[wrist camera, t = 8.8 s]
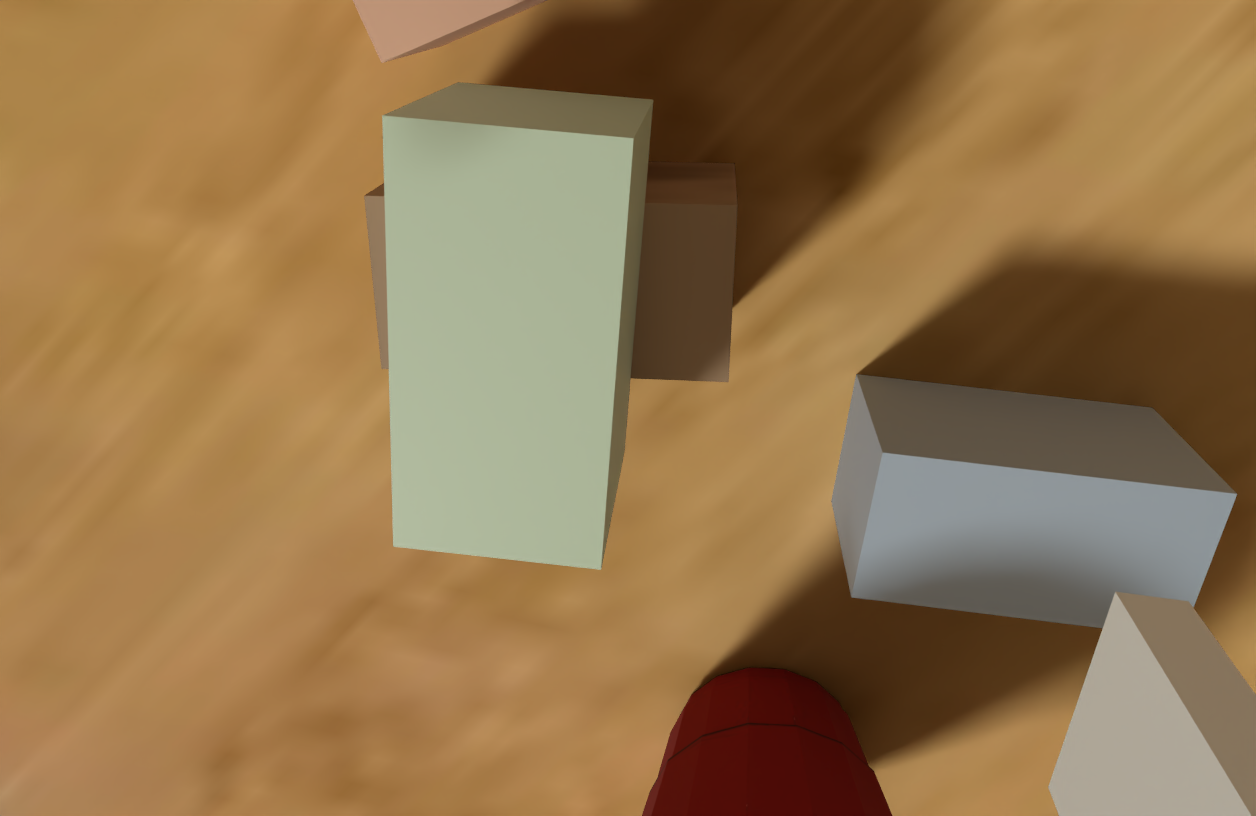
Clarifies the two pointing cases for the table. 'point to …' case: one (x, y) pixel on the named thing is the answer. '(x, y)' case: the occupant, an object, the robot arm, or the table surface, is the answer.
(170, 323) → the table surface
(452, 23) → the terracotta block
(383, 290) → the walnut block
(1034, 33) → the table surface
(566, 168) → the sage block
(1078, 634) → the table surface
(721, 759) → the plastic cup
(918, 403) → the slate block
